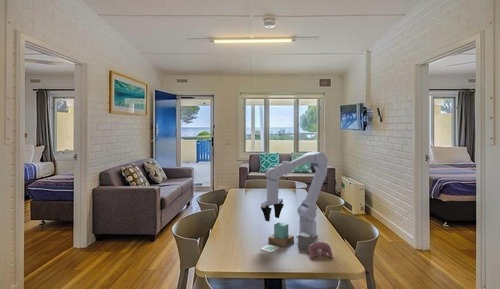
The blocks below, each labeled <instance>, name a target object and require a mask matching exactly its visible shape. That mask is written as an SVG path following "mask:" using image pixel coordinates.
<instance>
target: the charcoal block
mask: <svg viewBox="0 0 500 289" xmlns="http://www.w3.org/2000/svg"><path fill="white" fill-rule="evenodd" d="M297 235H298V234H297ZM312 243H314V238H313V234H310V233H305V232H302V233H301V234H299V235H298V237H297V248H299V249H303V250H307V251H309V245H310V244H312Z"/></svg>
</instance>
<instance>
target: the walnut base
mask: <svg viewBox="0 0 500 289" xmlns="http://www.w3.org/2000/svg"><path fill="white" fill-rule="evenodd" d="M267 238H268V239H267V241H268V244H269V245H273V246H276V247H281V248H286V247H287V246H289V245H291V244H292V243H294V242H295V235H293V234H289V233H288V237H286V238H284V239H281V238H277V237H274V233H273V234H272V235H270V236H268V237H267Z"/></svg>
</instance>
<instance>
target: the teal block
mask: <svg viewBox="0 0 500 289" xmlns="http://www.w3.org/2000/svg"><path fill="white" fill-rule="evenodd" d="M273 234H274V237H277V238H281V239H284V238H286V237H288V234H289V223H285V222H281V221H279V222H277V223H274V224H273Z"/></svg>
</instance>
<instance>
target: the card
mask: <svg viewBox="0 0 500 289" xmlns="http://www.w3.org/2000/svg"><path fill="white" fill-rule="evenodd" d="M279 249H280V246H277V245H274V244H270V243H268V244H267V245H265V246H263V247H261V248H260V249H259V250H261V251H264V252H267V253H273V252H276V251H277V250H279Z"/></svg>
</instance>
